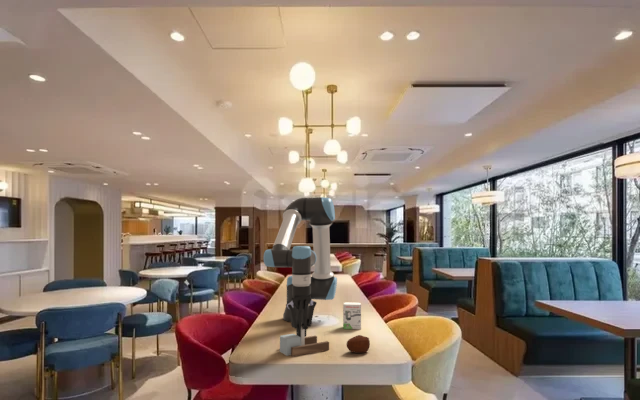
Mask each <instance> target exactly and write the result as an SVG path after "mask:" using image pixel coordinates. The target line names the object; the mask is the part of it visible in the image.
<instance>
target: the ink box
mask: <svg viewBox="0 0 640 400" xmlns="http://www.w3.org/2000/svg"><path fill="white" fill-rule="evenodd" d="M342 306H343V307H342V309H343V311H342V313H343V314H342V315H343V316H342V317H343V318H342V320H343V321H342V322H343V323H342V328H343V329H344V330H361V329H362V303H361V302H351V301H350V302H342Z"/></svg>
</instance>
